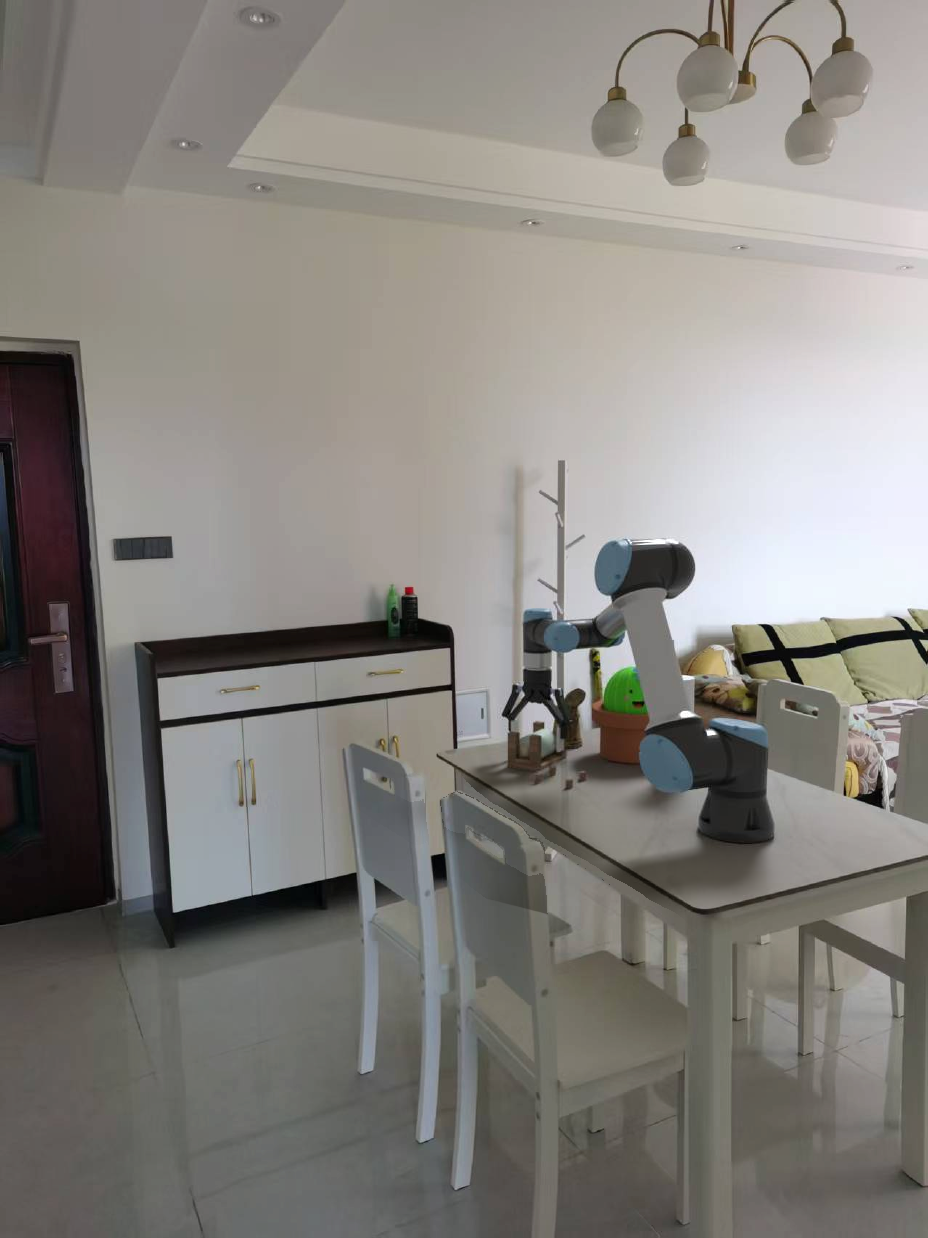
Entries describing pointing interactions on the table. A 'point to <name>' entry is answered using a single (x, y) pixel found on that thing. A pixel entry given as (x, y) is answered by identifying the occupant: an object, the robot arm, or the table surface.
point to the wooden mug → (573, 730)
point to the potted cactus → (621, 717)
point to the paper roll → (546, 743)
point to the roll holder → (531, 751)
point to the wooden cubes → (553, 771)
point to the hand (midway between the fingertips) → (537, 747)
